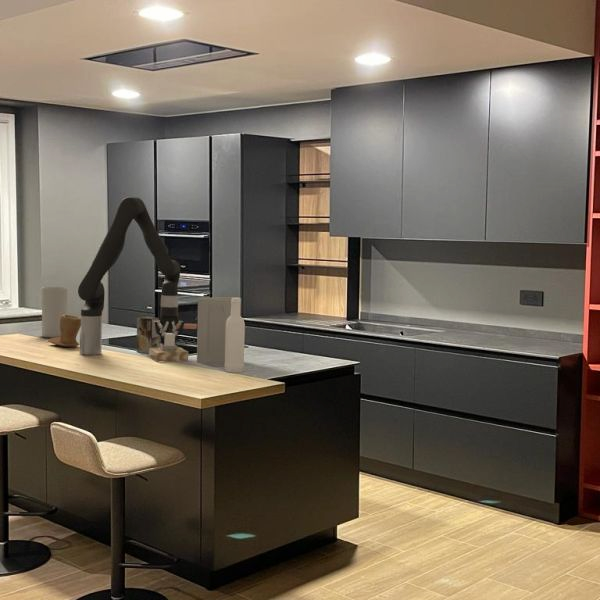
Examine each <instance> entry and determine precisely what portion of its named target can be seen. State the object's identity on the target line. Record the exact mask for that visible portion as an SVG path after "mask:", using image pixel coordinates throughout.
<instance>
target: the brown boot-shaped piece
mask: <svg viewBox="0 0 600 600" xmlns="http://www.w3.org/2000/svg"><path fill="white" fill-rule="evenodd" d="M80 330H81V316H75V315H71V314H70V315H69V314H67V315H62V316H61V319H60V333H61V335H60V337H59V338H58V337H57V338H49V339H48V341H47V342H48V343H50V344H53V345H55V346H60V347H66V348H67V347H70V348H71V347H77V346H80V342H78V341H77V336H78V334H79V333H80Z"/></svg>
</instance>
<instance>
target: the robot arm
mask: <svg viewBox="0 0 600 600" xmlns="http://www.w3.org/2000/svg"><path fill="white" fill-rule="evenodd" d="M116 210H117V211H116V213H115V215H114V218H113V221H112V223H111V224H110V227H109V229H108V231H107V233H106V235H105V237H104V239H103V240H102V242H101V245H100V247H99V248H98V251H97V253H96V255H95V257H94V258H93V261H92V263H91V266H90V267H89V269H88V271H87V272H86V274H85V275H84V277H83V279H82V280H81V282H80V284H79V285H78V289H77V294H78V297H79V299H80V300H82V301H85V304H84V305H83V307H82V308H81V310H80V318H81V327H80V331H79V353H80V354H81V355H85V356H86V355H88V356H91V355H95V356H96V355H101V354H102V339H103V338H102V337H103V336H102V335H103V311H104V308H105V295H106V294H105V286H104V284H103V282H102V280H103V278H104V276H105V275H106V273H108V272H109V270H110V269H111V268H112V267H113V266H114V265H115V264H116V262H117V261H118V259H119V258H120V255H121V254H122V251H123V249H124V248H125V243H126V237H127V236H126V235H127V231H128V229H129V227H130V225H131V223H132V222H133V220H134V221H135V223H136V224H137V225H138V227H139V228H140V230H141V232H142V233H141V234H142V236H143V239H144V242H145V245H146V247H147V249H148V250H149V251H150V253H151V254H152V256H153V258H154V260H155V263H156V266H157V268H158V270H159V272H160V273H161V274H162V275H163V276H164V281H163V283H162V284H161V297H160V317H159V318H160V320H159V321H154V322H153V323H154V327H155V330H156V334H158V335H160V342H161V343H162V345H164V334H165V333H167V332H166V331H167V330H169V329H171V330H172V333H173V334H175V344H177V342H178V336H179V335H182V332H183V330H184V329H183V327H184V324H186V323H185V321H183V320H180V319H179V297H178V295H179V288H178V287H179V286H178V285H179V282H180V276H181V266H180V263H179V262H178V261H177V260H175V259H171V257H170V254H169V249H168V246H167V245H166V243H165V242H164V240H163V239H162V237H161V236H160V234H159V232H158V231H157V228H156V227H155V225H154V223H153V220H152V219H151V217H150V214H149V211H148V208H147V206H146V204H145V202H144V200H142V199H141V198H139V197H137V196H136V197H135V196H127V197H124V198H122V200H121V201H120V203H119V205H118V207H117V209H116ZM159 323H161V325H162V329H161V328H160V331H159V327H158V326H159ZM177 324H179V329H177V328H176V327H175V326H176V325H177ZM163 327H164V328H163Z"/></svg>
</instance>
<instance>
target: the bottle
mask: <svg viewBox="0 0 600 600" xmlns="http://www.w3.org/2000/svg"><path fill="white" fill-rule="evenodd" d="M240 298H241V297H238V298H232V299H231V316H230V317H229V318H228V319H227V321H226V337H225V366H224V372H225V373H226V372H227V373H233V374H234V373H243V372H244V371H245V335H246V334H245V331H246V327H245V326H246V322H245V320H244V318H243V317H242V315H241V316H240V303H241V304H242V300H241V301H240Z"/></svg>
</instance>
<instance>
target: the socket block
mask: <svg viewBox="0 0 600 600" xmlns="http://www.w3.org/2000/svg"><path fill="white" fill-rule="evenodd" d="M148 357H149V358H150V359H151V360H152V361H154V360H155V361H154V362H156V361H157V362H156V363H159V361H163V362H188V361H189V351H188V350H186V349H184V348H182V347H178V349H175V351H163V350H162V349H161V348H149V353H148ZM163 362H162V363H163Z"/></svg>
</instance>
